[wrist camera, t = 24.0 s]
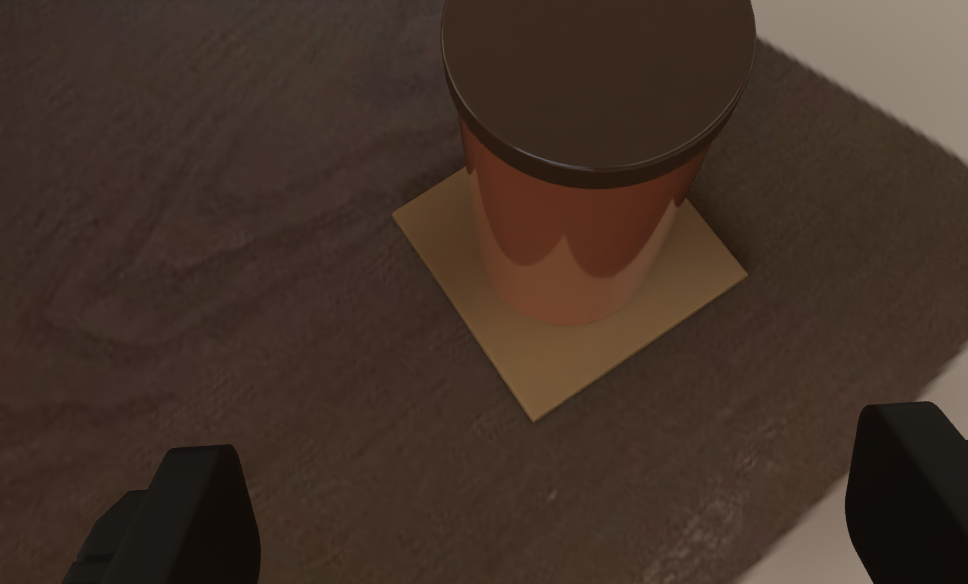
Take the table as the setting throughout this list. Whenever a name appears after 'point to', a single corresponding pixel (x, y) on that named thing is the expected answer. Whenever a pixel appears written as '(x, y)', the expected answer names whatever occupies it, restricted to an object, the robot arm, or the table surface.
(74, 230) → the table surface
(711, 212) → the table surface
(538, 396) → the coaster
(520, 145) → the spice jar
